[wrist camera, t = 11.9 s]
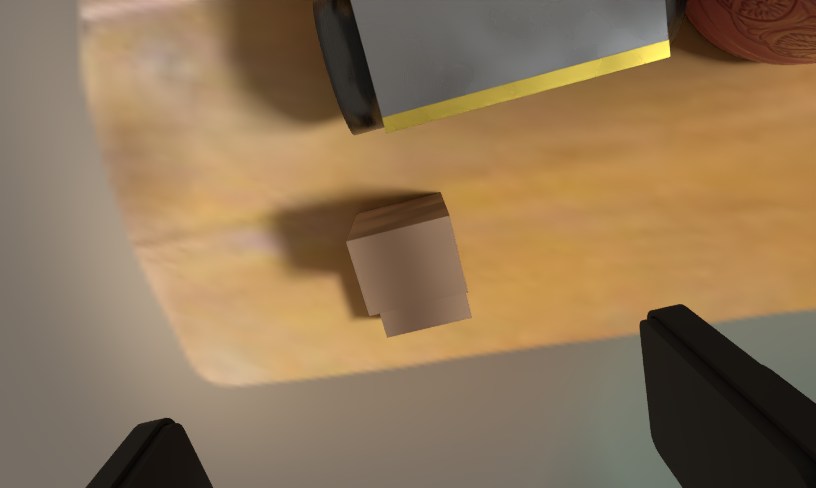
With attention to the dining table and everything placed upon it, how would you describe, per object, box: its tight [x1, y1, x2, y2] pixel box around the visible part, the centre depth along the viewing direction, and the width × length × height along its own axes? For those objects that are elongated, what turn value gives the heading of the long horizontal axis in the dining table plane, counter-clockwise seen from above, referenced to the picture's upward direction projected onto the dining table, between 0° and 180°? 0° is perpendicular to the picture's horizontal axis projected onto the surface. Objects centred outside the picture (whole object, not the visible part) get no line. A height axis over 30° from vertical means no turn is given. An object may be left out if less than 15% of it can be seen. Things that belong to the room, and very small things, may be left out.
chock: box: [346, 192, 472, 338], centre depth 25 cm, size 5×7×6 cm
